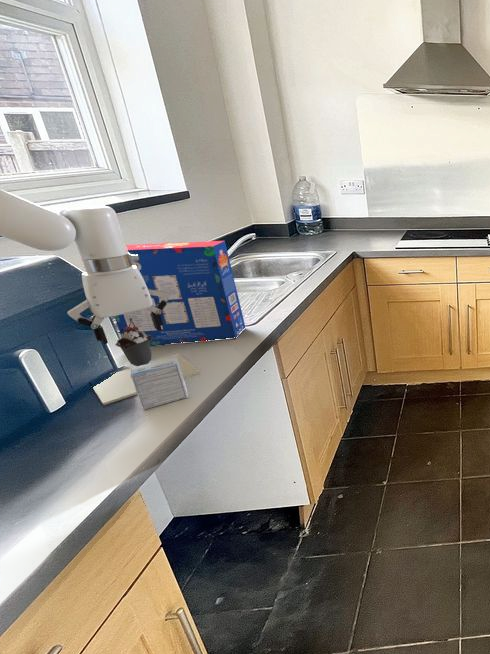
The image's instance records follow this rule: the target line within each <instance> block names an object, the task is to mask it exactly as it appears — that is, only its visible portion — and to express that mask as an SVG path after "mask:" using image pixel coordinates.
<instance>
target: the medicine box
mask: <svg viewBox="0 0 490 654" xmlns="http://www.w3.org/2000/svg"><path fill="white" fill-rule="evenodd" d="M132 367H133V368H132ZM132 367H131V368H132V370H131V378H132V381H133V383H134V386H135V389H136V392H137V395H136V396H137V398H138V400H139V402H140V406H141V408H142V410H143V411H144V410H147V409H151V408H155V407H158V406H162V405H164V404H165V405H166V404H169V403H173V402H176V401H179V400H182V399H187V398H189V394H188V389H187V386H186V382H185V380H184V379H183V376H182V373H181V369H180V366H179V363H178V360H177V358H171V359H166V360H162V361H158V362H154V363H149V364H145V365H141V366H137V367H136V366H132Z"/></svg>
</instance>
